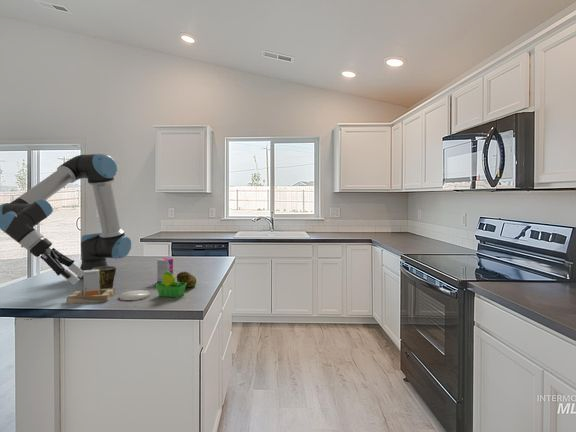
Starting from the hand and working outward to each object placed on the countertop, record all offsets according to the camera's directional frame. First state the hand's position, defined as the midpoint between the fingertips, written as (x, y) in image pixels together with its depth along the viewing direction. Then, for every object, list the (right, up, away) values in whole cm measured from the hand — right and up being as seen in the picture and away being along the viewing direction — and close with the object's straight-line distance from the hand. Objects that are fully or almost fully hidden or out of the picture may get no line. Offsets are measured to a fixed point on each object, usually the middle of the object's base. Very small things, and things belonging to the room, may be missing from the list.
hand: (80, 278), depth 152 cm
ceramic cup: (+2, -8, +17) cm, 19 cm away
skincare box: (+3, -9, +3) cm, 10 cm away
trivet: (+20, -9, +6) cm, 23 cm away
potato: (+38, -8, +23) cm, 45 cm away
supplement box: (+24, -7, +34) cm, 42 cm away
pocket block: (+3, -9, +3) cm, 10 cm away
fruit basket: (+35, -9, +8) cm, 37 cm away
